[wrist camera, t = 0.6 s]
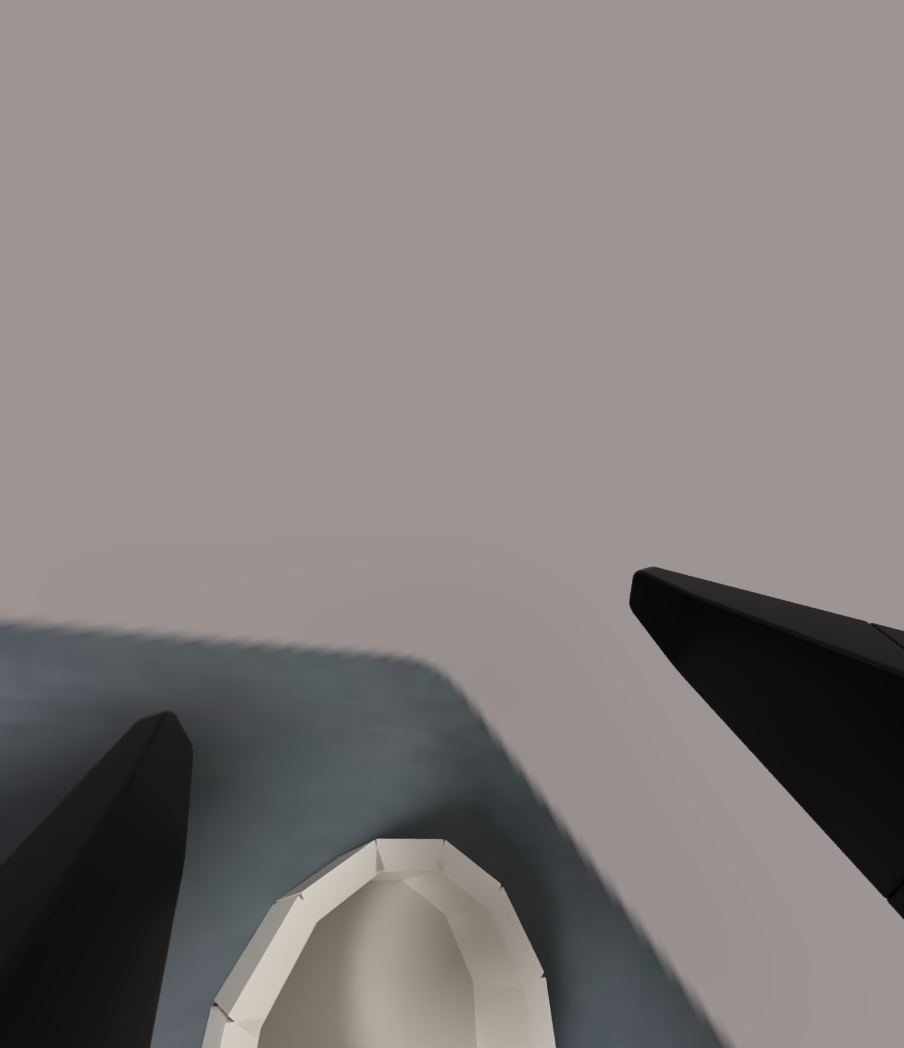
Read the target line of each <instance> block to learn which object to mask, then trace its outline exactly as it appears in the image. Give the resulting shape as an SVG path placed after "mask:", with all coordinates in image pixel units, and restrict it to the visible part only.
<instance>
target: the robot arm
mask: <svg viewBox="0 0 904 1048" xmlns="http://www.w3.org/2000/svg"><path fill="white" fill-rule="evenodd" d="M629 604H630V608H631V610H632V612H633V613H634V614H635V616H636V617H637V618H638V620H639V621H640V623H641V624H642V625H643V626H644V628H645V629H646V630H647V632H648V633H649V634H650V636H651V637H652V638H653V640H654V641H655V642H656V644H657V645H658V646H659V647H660V649H661V650H662V651H663V653H664V654H665V655H666V656H667V658H668V659H669V660H670V662H671V663H672V664H673V666H674V667H675V668H676V669H677V670H678V671H679V673H680V674H681V675H682V676H683V677H684V678H685V680H686V681H687V682H688V683H689V684H690V685H691V686H692V687H693V688H694V689H695V691H696V692H697V693H698V694H699V695H700V696H701V697H702V698H703V699H704V700H705V701H706V703H707V704H708V705H709V706H710V707H711V708H712V709H713V710H714V711H715V712H716V714H717V715H718V716H719V717H720V718H721V719H722V720H723V721H724V722H725V723H726V725H727V726H728V727H729V728H730V729H731V730H732V731H733V732H734V733H735V734H736V735H737V737H738V738H739V739H740V740H741V741H742V742H743V743H744V744H745V745H746V746H747V748H748V749H749V750H750V751H751V752H752V753H753V754H754V755H755V756H756V757H757V758H758V760H759V761H760V762H761V763H762V764H763V765H764V766H765V767H766V768H767V769H768V771H769V772H770V773H771V774H772V775H773V776H774V777H775V778H776V779H777V780H778V782H779V783H780V784H781V785H782V786H783V787H784V788H785V789H786V790H787V791H788V792H789V793H790V795H791V796H792V797H793V798H794V799H795V800H796V801H797V802H798V803H799V804H800V806H801V807H802V808H803V809H804V810H805V811H806V812H807V813H808V814H809V816H810V817H811V818H812V819H813V820H814V821H815V822H816V823H817V824H818V825H819V826H820V828H821V829H822V830H823V831H824V832H825V833H826V834H827V835H828V836H829V837H830V839H831V840H832V841H833V842H834V843H835V844H836V845H837V846H838V847H839V848H840V849H841V851H842V852H843V853H844V854H845V855H846V856H847V857H848V858H849V859H850V860H851V861H852V863H853V864H854V865H855V866H856V867H857V868H858V869H859V870H860V871H861V872H862V874H863V875H864V876H865V877H866V878H867V879H868V880H869V881H870V882H871V883H872V884H873V886H874V887H875V888H876V889H877V890H878V891H879V892H880V893H881V894H882V896H883V897H885V898H887V901H888V902H889V904H890V905H891V906H892V907H893V908H894V909H895V910H896V911H897V912H898V914H899V915H900V916H901V917H902V918H903V919H904V631H902V630H898V629H894V628H890V627H886V626H882V625H878V624H874V623H870V624H869V623H868V622H866V621H863V620H859V619H855V618H851V617H847V616H843V615H839V614H835V613H832V612H828V611H824V610H820V609H816V608H812V607H808V606H804V605H801V604H797V603H793V602H789V601H785V600H781V599H778V598H773V597H770V596H766V595H762V594H758V593H754V592H750V591H746V590H743V589H739V588H735V587H730V586H727V585H723V584H719V583H716V582H712V581H708V580H704V579H700V578H696V577H692V576H688V575H684V574H680V573H677V572H673V571H669V570H665V569H661V568H658V567H648V568H644V569H641V570H638V571H636V572H635V574H634V575H633V579H632V586H631V592H630V599H629ZM192 762H193V750H192V745H191V742H190V740H189V738H188V736H187V734H186V732H185V731H184V729H183V727H182V725H181V724H180V722H179V720H178V718H177V716H176V715H175V714H174V712H172V711H170V710H165V711H161V712H158V713H154V714H151V715H148V716H144V717H142V718H140V719H139V720H138V721H136V722H135V723H134V724H133V725H132V726H131V728H130V729H129V730H128V731H127V732H126V733H125V734H124V735H123V736H122V737H121V738H120V739H119V740H118V741H117V742H116V743H115V744H114V745H113V747H112V748H111V749H110V750H109V751H108V752H107V753H106V754H105V755H104V756H103V757H102V758H101V759H100V760H99V761H98V762H97V763H96V764H95V766H94V767H93V768H92V769H91V770H90V771H89V772H88V773H87V774H86V775H85V776H84V777H83V778H82V779H81V780H80V781H79V782H78V783H77V785H76V786H75V787H74V788H73V789H72V790H71V791H70V792H69V793H68V794H67V795H66V796H65V797H64V798H63V799H62V800H61V801H60V802H59V803H58V805H57V806H56V807H55V808H54V809H53V810H52V811H51V812H50V813H49V814H48V815H47V816H46V817H45V818H44V819H43V820H42V821H41V822H40V824H39V825H38V826H37V827H36V828H35V829H34V830H33V831H32V832H31V833H30V834H29V835H28V836H27V837H26V838H25V839H24V840H23V841H22V843H21V844H20V845H19V846H18V847H17V848H16V849H15V850H14V851H13V852H12V853H11V854H10V855H9V856H8V857H7V858H6V859H5V860H4V862H3V863H2V864H1V865H0V1048H150V1046H151V1041H152V1035H153V1030H154V1025H155V1019H156V1014H157V1008H158V1003H159V998H160V992H161V987H162V981H163V976H164V971H165V965H166V960H167V954H168V949H169V944H170V938H171V933H172V927H173V922H174V917H175V911H176V906H177V900H178V895H179V889H180V884H181V879H182V872H183V866H184V860H185V850H186V840H187V827H188V814H189V801H190V788H191V775H192Z"/></svg>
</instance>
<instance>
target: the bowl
mask: <svg viewBox="0 0 904 1048" xmlns="http://www.w3.org/2000/svg"><path fill="white" fill-rule="evenodd" d="M500 886H501V884H500V883H499V882H498V881H497V880H495V879H494V878H493V877H492V876H490V875H489V874H488V873H487V872H485V871H484V870H483V869H482V868H480V867H479V866H478V865H476V864H475V863H474V862H473V861H471V860H470V859H469V858H468V857H466V856H465V855H464V854H463V853H461V852H460V851H459V850H458V849H456V848H455V847H454V846H453V845H451V844H450V843H449V842H448V841H446V840H445V841H443V839H376V840H373V841H371V842H369V843H367V844H365V845H363V846H360V847H358V848H356V849H354V850H352V851H350V852H348V853H346V854H344V855H342V856H340V857H338V858H337V859H335V860H334V861H332V862H331V863H330V864H328V865H327V866H325V867H324V868H322V869H321V870H320V871H318V872H317V873H315V874H314V875H312V876H311V877H310V878H308V879H307V880H305V881H304V882H303V883H301V884H300V885H298V886H297V887H295V888H294V889H293V890H291V891H290V892H288V893H287V894H285V895H284V896H283V897H281V898H280V899H278V900H277V901H276V904H273V905H272V907H271V908H270V910H269V912H268V913H267V915H266V917H265V918H264V920H263V921H262V923H261V925H260V926H259V928H258V929H257V931H256V933H255V934H254V936H253V938H252V939H251V941H250V942H249V944H248V946H247V947H246V949H245V951H244V952H243V954H242V955H241V957H240V959H239V960H238V962H237V964H236V965H235V967H234V968H233V970H232V972H231V973H230V975H229V977H228V978H227V980H226V981H225V983H224V985H223V986H222V988H221V990H220V991H219V993H218V994H217V996H216V998H215V999H214V1001H215V1002H216V1003H217V1004H218V1005H215V1006H211V1010H210V1015H209V1019H208V1023H207V1027H206V1032H205V1036H204V1040H203V1044H202V1048H556V1046H555V1039H554V1032H553V1025H552V1018H551V1011H550V1004H549V997H548V990H547V983H546V977H541V976H542V975H543V973H544V971H543V969H542V967H541V965H540V963H539V960H538V958H537V956H536V954H535V952H534V950H533V948H532V946H531V944H530V942H529V940H528V937H527V935H526V933H525V931H524V929H523V927H522V925H521V923H520V921H519V919H518V917H517V914H516V912H515V910H514V908H513V906H512V904H511V902H510V900H509V898H508V896H507V894H506V891H505V889H504V887H500Z"/></svg>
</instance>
